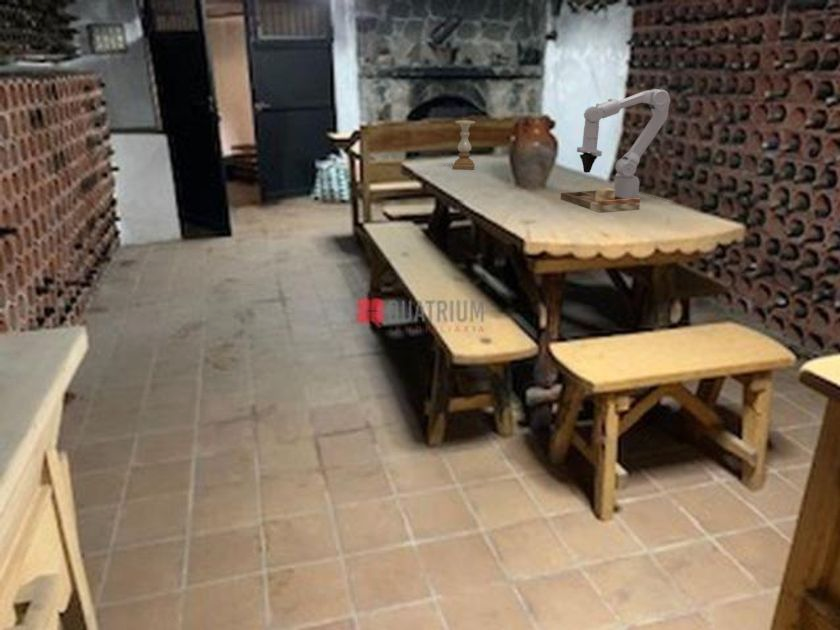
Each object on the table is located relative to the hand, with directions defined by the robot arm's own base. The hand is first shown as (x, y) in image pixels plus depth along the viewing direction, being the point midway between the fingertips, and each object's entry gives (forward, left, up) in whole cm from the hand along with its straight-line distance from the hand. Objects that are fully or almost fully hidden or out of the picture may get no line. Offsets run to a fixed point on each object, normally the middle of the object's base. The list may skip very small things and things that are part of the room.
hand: (586, 172), depth 266 cm
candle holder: (+14, -91, -11) cm, 93 cm away
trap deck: (+2, +13, -10) cm, 16 cm away
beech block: (+6, +22, -8) cm, 24 cm away
